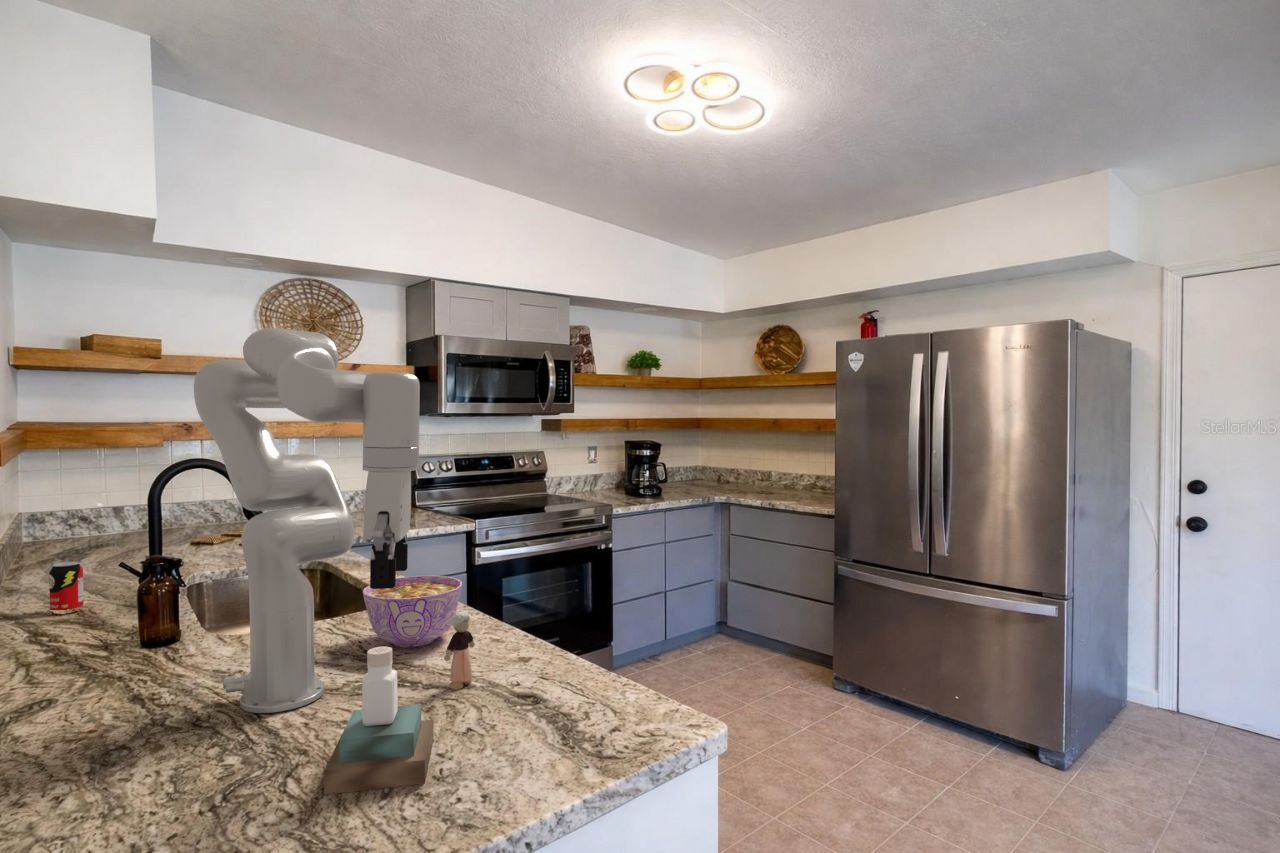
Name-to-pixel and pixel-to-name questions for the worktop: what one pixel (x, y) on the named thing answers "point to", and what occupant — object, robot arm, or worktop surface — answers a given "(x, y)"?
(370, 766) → the square push button
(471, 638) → the grandmother figurine
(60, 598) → the beverage can
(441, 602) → the bowl of food
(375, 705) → the pepper shaker
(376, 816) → the worktop surface
